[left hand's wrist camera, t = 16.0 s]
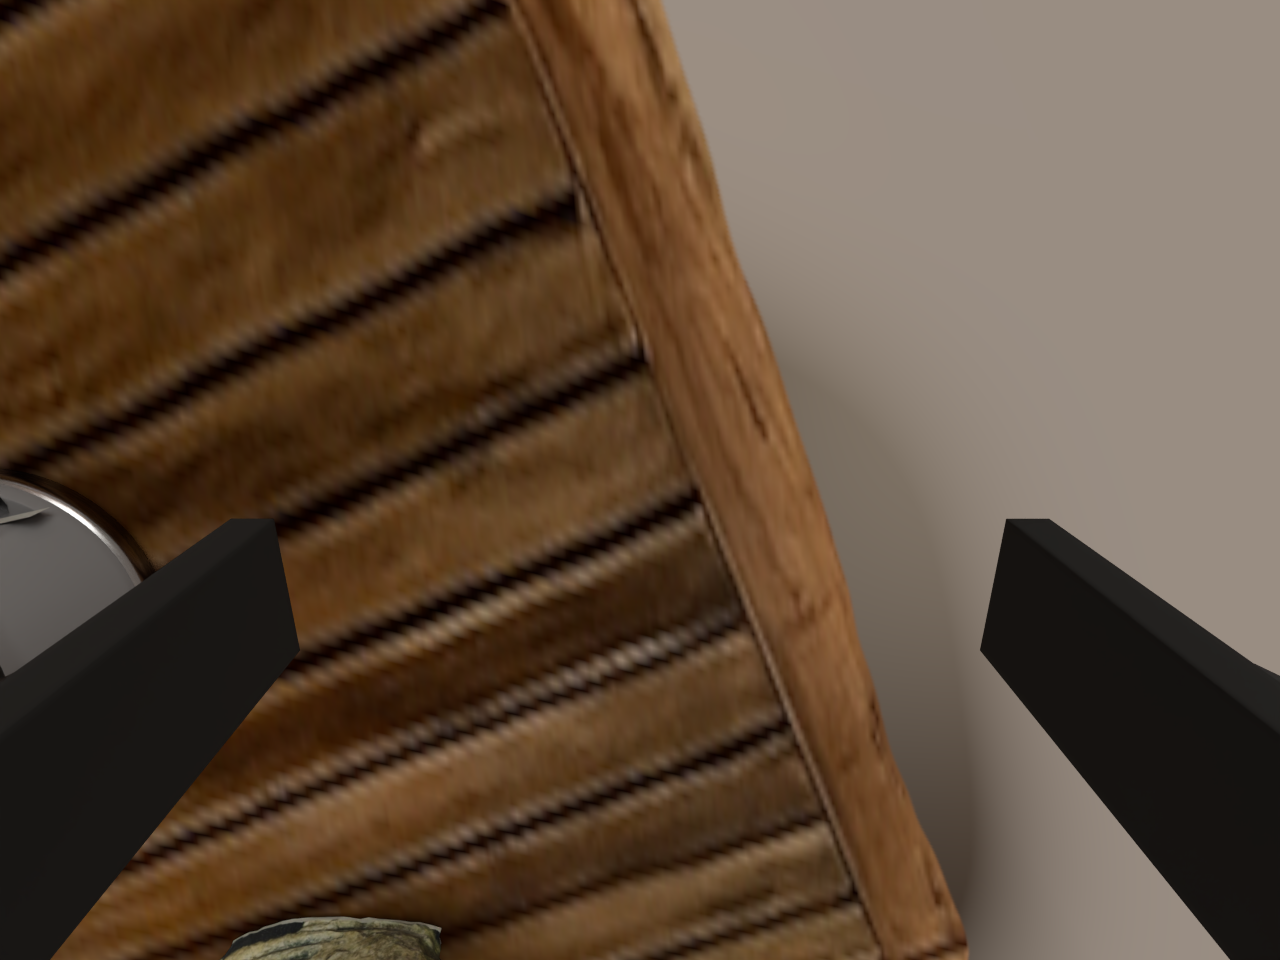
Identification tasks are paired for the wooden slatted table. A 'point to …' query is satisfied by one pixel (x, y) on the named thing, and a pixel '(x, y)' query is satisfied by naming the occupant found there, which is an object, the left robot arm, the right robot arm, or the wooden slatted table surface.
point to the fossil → (339, 940)
